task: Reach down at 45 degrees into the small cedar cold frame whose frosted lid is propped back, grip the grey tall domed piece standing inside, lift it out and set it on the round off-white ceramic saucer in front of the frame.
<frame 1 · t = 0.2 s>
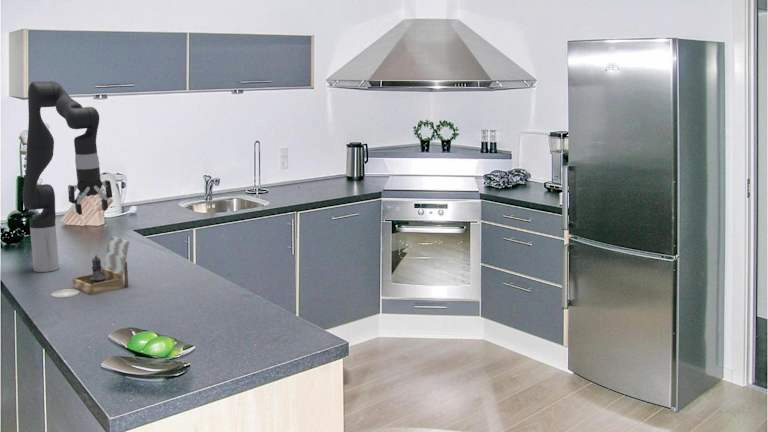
hand: (92, 212, 285), 28 cm above the counter, tool pointing down, fingers open, 8 cm apart
cold frame: (98, 287, 294), on the counter
grey tall domed piece: (98, 288, 294), resting in cold frame
saucer: (65, 294, 286), on the counter
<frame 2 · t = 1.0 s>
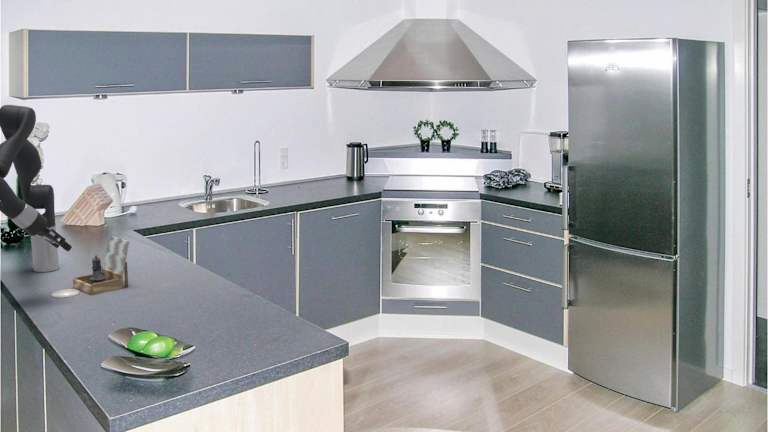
hand: (64, 247, 284), 17 cm above the counter, tool tilted 45°, fingers open, 8 cm apart
nothing on the counter moved.
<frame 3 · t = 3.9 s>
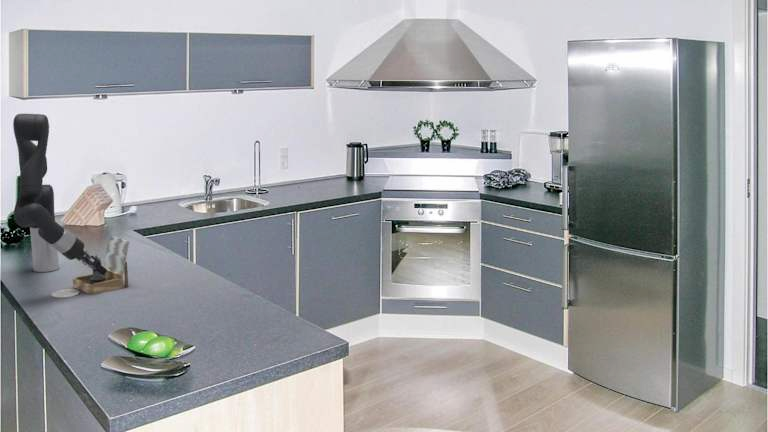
hand: (102, 271, 295), 6 cm above the counter, tool tilted 45°, fingers closed on grey tall domed piece, 3 cm apart
grey tall domed piece: (98, 288, 294), resting in cold frame, touching gripper
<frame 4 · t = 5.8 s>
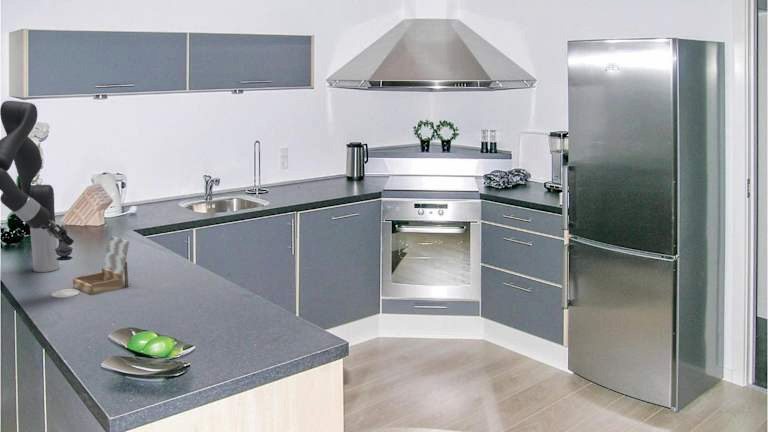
hand: (68, 242, 284), 18 cm above the counter, tool tilted 45°, fingers closed on grey tall domed piece, 3 cm apart
grey tall domed piece: (64, 259, 284), point 12 cm above the counter, touching gripper
when the fingers open (7 cm above the counter, at t = 8.2 s): grey tall domed piece drops 1 cm, resting on saucer.
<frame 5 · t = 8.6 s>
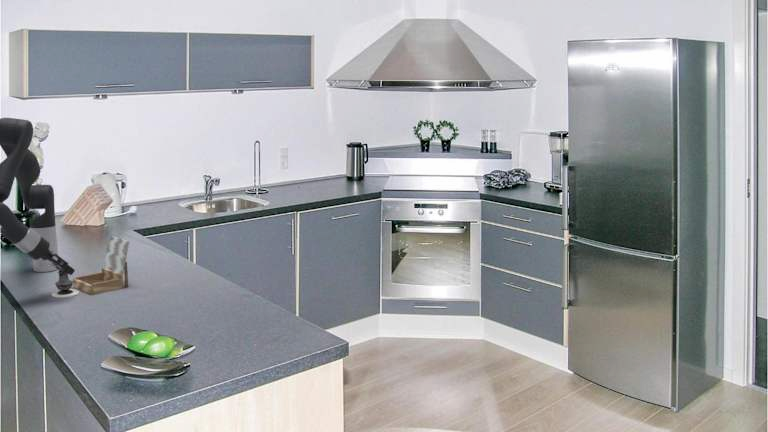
hand: (67, 270, 286), 8 cm above the counter, tool tilted 45°, fingers open, 7 cm apart
grey tall domed piece: (65, 293, 286), resting on saucer
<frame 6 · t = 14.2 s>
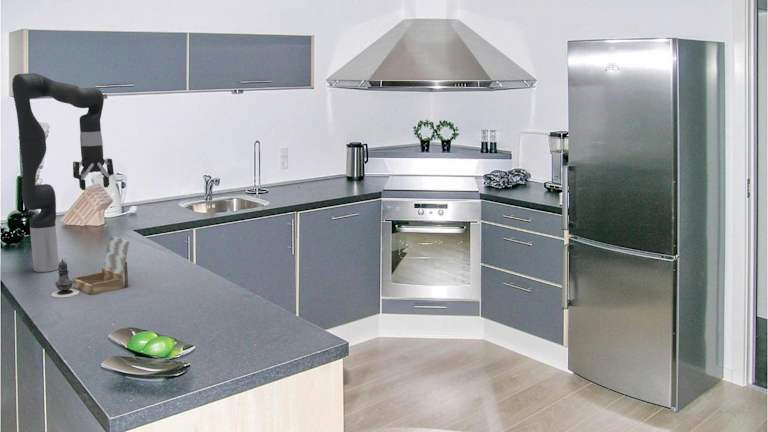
hand: (94, 188, 299), 34 cm above the counter, tool pointing down, fingers open, 8 cm apart
nothing on the counter moved.
at the end: grey tall domed piece inside the target area on the saucer (0.2 cm from its centre), point 0.4 cm above the saucer's base; grey tall domed piece tilted 0°; the gripper is holding nothing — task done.
